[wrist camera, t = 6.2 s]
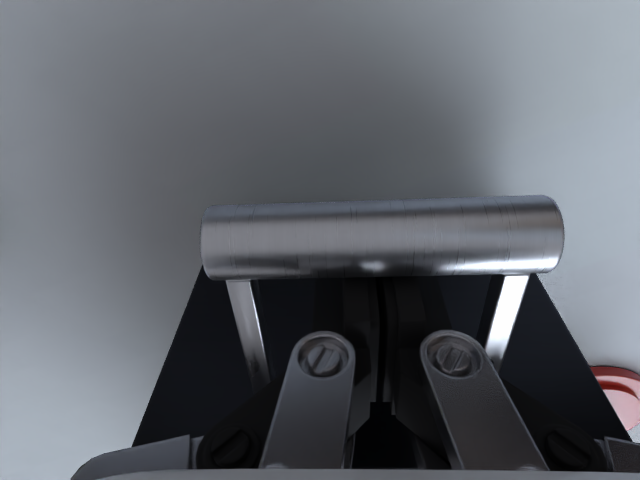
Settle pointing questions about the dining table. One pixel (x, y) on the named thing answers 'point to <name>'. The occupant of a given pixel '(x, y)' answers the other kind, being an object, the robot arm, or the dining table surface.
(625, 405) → the lid
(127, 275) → the dining table surface
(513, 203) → the drawer
